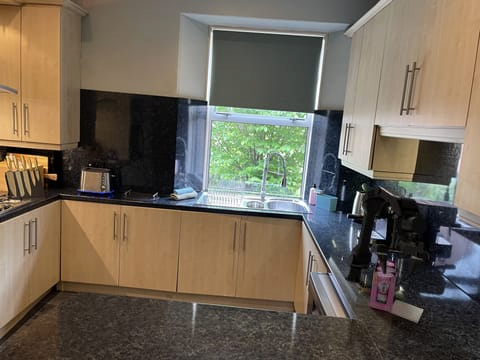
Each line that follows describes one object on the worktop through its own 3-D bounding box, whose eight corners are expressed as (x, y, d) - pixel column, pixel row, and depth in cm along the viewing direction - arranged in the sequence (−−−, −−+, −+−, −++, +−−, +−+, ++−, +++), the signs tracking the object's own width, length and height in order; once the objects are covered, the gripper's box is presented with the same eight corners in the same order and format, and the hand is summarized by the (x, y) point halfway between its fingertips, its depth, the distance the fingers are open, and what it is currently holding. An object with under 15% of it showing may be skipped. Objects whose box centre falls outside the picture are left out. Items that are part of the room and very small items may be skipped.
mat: (396, 301, 146) (396, 299, 146) (423, 311, 141) (423, 309, 141) (388, 311, 135) (388, 310, 134) (417, 323, 129) (417, 321, 129)
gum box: (391, 314, 131) (396, 277, 130) (368, 308, 134) (372, 272, 133) (393, 292, 153) (397, 261, 152) (373, 288, 156) (377, 257, 155)
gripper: (386, 229, 122) (381, 276, 121) (440, 237, 123) (435, 284, 121) (372, 228, 133) (368, 271, 132) (422, 235, 134) (418, 278, 132)
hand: (397, 276), depth 129 cm, fingers open, 9 cm apart
